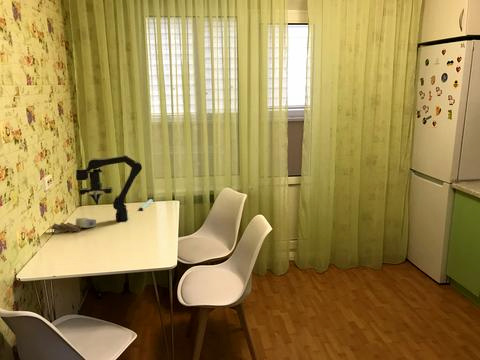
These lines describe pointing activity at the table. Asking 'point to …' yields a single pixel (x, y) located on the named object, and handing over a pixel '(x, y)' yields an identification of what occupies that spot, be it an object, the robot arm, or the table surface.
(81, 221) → the medicine box
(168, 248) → the table surface
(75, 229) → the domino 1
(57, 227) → the domino
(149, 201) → the white black-tipped bar
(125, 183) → the robot arm
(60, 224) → the domino
